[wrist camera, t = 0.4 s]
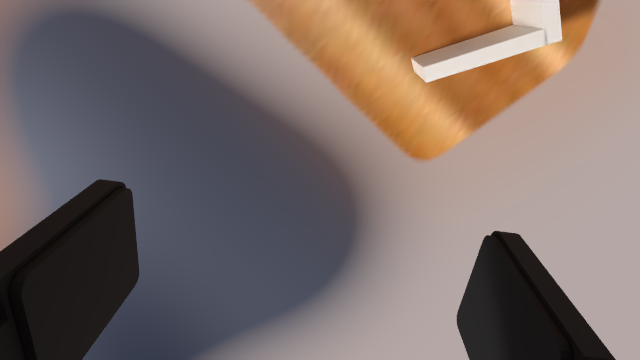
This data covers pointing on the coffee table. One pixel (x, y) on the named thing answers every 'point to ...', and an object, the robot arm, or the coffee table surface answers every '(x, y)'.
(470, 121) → the coffee table surface
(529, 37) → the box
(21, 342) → the robot arm
